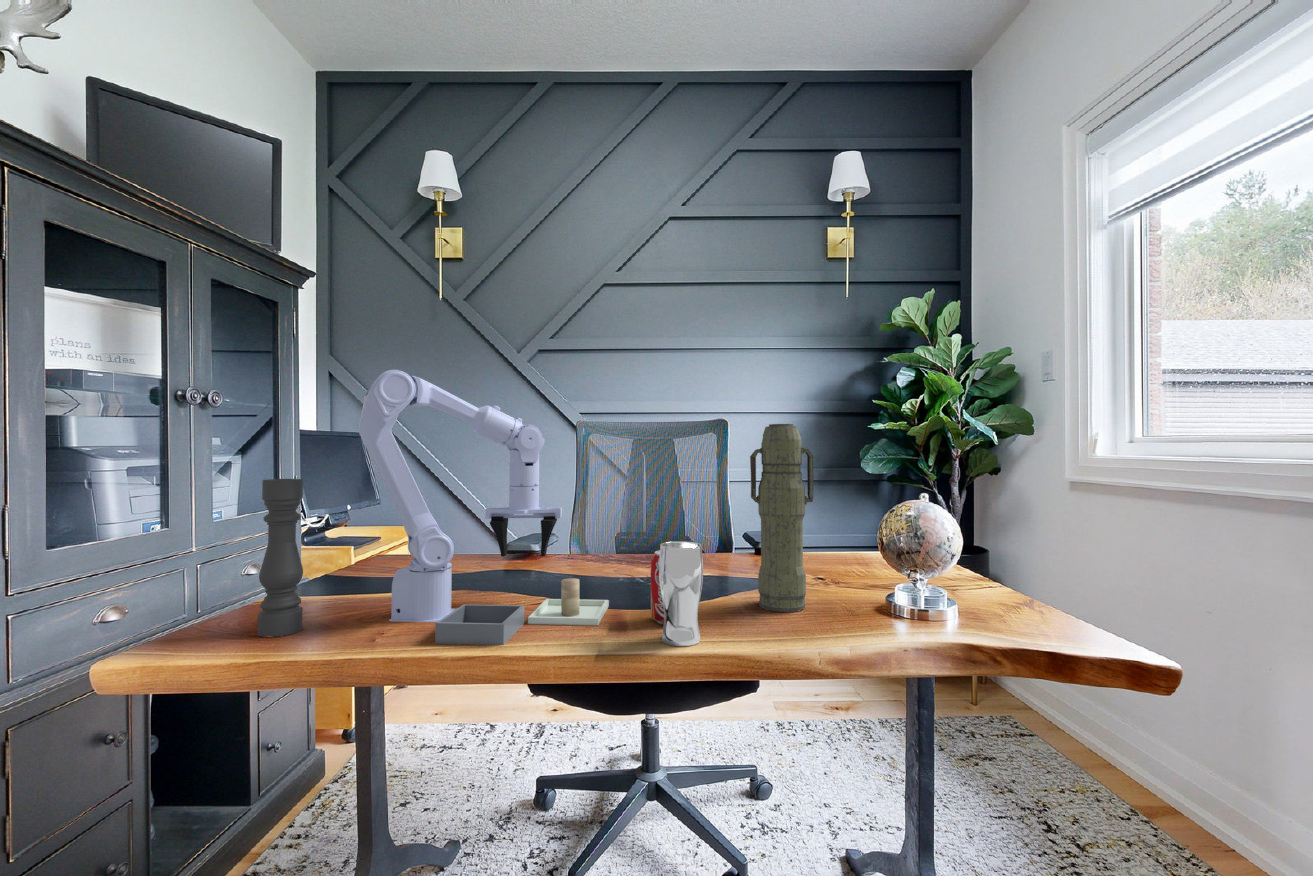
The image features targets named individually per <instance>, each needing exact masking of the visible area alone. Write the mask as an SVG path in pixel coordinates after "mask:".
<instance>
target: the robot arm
mask: <svg viewBox="0 0 1313 876" xmlns="http://www.w3.org/2000/svg"><path fill="white" fill-rule="evenodd" d="M408 405H409V407H425V406H427V407H431V408H434V409H436V410H438V411H441V412H443V413H446V414H448V415H450V416H452V417H455V418H458V419H459V420H461V421H464V422H467V423H469V424H470V427H471V429H472V431H473V433H475V434H476V435H479V436H481V437H484V438H485V439H488V440H490V441H493V442H495V443H497V444H499V445H500V446H501V445H502V446H503V447H505V446H506V448H507V449H508V451H509V467H508V468H509V471H508V472H509V475H508V476H509V477H508V478H509V480H508V481H509V487H508V491H509V493H508V495H509V499H508V500H509V502H508V504H509V505H508V507H505V506H504V507H487V508H485V519H486V520H489V519H490V521H489V524H490V527H491V529H492V532H493V533H494V534H495V537H496V540H497V543H498V546H499V552H500V556H501V557H506V556H508V526H509V519H541V520H540V531H541V533H540V534H541V544H540V557H546V555H547V552H548V545H549V542H550V538H551V535H552V534H553V533H552V532H553V530H554V528H555V526H556V524H557V521H558V519H560V520H561V519H562V518H563V507H548V506H547V507H543V506H542V507H541V506H540V452H541V450H542V448H543V447H544V445H545V440H546V439H545V438H543V434H542V431H540V429H539V427H538V426H536V425H534V424H531V423H530V424H529V423H526V424H523V418H520V417H516V418H515V417H512V416H511V415H508V414H506V413H504V412H503V411H501V407H500V406H498V405H492V406H491V405H488V404H487V405H483V406H481V407H477V406H475V405H473V404H472V403H469V402H468V401H466V400H464V399H462V398H460V397H458V396H456V395H454V394H452V393H451V392H448V391H447V390H445V389H443V388H441V387H439V386H437V385H435V384H433V383H431V382H429V381H427V380H425V379H423V378H421V377H418V376H415V375H412V376H410V374H408V373H407V372H405V371H402V370H399V369H389V370H386V371H384V372H382V373H381V374H379V376H378V377H377V378H376V379H374V381H373V382H372V383H371V385H370V387H369V388H368V389H367V390H366V392H365V394H364V397H363V404H362V409H361V414H360V418H359V422H358V429H357V430H358V434H359V435H360V438H361V440H362V442H363V444H364V446H365V448H366V450H367V452H368V454H369V457H370V458H371V461H372V462H373V465H374V467H375V469H376V471H377V472H378V475H379V477H380V480H381V481H382V482H383V485H384V487H385V490H386V491H387V493H388V495H389V497H390V499H391V501H392V504H393V505H394V507H395V510H396V512H397V514H398V516H399V518H400V520H401V522H402V526H403V528H404V531H405V533H406V535H407V539H408V541H407V549H408V553H409V554H410V555H411V557H412V558H413V559H412V560H411V562H409V564H408V566H407V567H400V568H399V569H398V570H396V572H395V573H394V575H393V579H392V581H391V582H392V583H391V611H390V612H391V614H390V615H391V616H390V617H391V618H390V619H389V620H388V621H389V622H397V623H398V622H401V623H402V622H403V623H405V622H407V623H408V622H409V623H436V622H438V621H439V620H441V619H442V618H444V617H445V616H447V615H448V614H450V613H451V612H453V611H454V610H456V609H457V608H452V582H453V581H452V567H453V566H452V565H453V564H452V562H451V560H452V559H453V556H454V552H455V546H454V545H455V544H454V542H453V540H452V539H451V538H450V537H449V536H448V535H447V534H445V533H444V532H443V531H442V530H441V528H440V527H439V525H438V522H437V521H436V520H435V518H434V517H433V514H432V513H431V512H430V509H429V507H428V506H427V503H426V501H425V500H424V497H423V495H422V493H421V491H420V489H419V487H418V485H417V482H416V480H415V478H414V476H413V474H412V472H411V470H410V468H409V466H408V464H407V460H406V459H405V457H404V454H403V453H402V451H401V449H400V447H399V445H398V442H397V441H396V438H395V436H394V435H393V431H392V429H393V427H394V426H395V423H396V421H397V420H398V417H399V414H400V413H401V412H402V411H403V410H404V409H405V408H406V407H407V406H408Z"/></svg>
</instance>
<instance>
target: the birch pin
mask: <svg viewBox="0 0 1313 876" xmlns="http://www.w3.org/2000/svg"><path fill="white" fill-rule="evenodd" d="M560 584H561V591H560V592H561V593H560V594H561V597H560V599H561V615H562V616H567V617H571V616H577V615H579V599H580V579H579V578H576V577H575V578H573V577H569V578H563V579H561V581H560Z"/></svg>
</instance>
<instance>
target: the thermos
mask: <svg viewBox="0 0 1313 876" xmlns="http://www.w3.org/2000/svg"><path fill="white" fill-rule="evenodd" d="M760 444H761V445H760V448H758V449H755V450H754V451H753V452H752V453H751V455H750V456H749V459H750V460H749V462H750V464H749V465H750V498H751V499H752V500H753V501H754V502H755V503H756V504H758V505H757V506H758V508H757V509H758V510H757V511H758V515H759V518H760V567H759V570H758V576H757V577H758V578H757V580H758V583H757V585H758V586H757V587H758V594H759V601H758V602H759V607H760V608H762V609H764V610H766V609H767V610H766V611H771V612H777V613H796V612H795V611H798V612H800V611H799V610H802V609H804V608H805V609H806V602H805V601H806V599H805V596H806V595H807V589H806V588H807V577H806V572H805V570H804V559H803V558H804V554H803V553H804V551H803V550H804V542H803V541H804V536H803V535H804V534H803V533H804V527H803V526H804V525H803V524H804V523H803V522H804V521H803V520H804V517H805V515H806V505H808V504H807V503H813V501H814V454H813V453H812V452H811V451H810V449H809V448H805V447H802V437H801V435H800V431H799V428H798V426H796V425H795V426H794V424H793V423H772V424H768V426H765V428H764V431H763V433H762V439H761V443H760ZM758 454H761V459H760V460H761V465H762V471H761V478H760V481H759V484H758V491H757V467H756V466H757V456H758ZM803 454H804V455H805V454H806V456H807V467H806V468H807V496H806V487H805V484H804V481H803V476H802V472H801V469H802V468H801V467H802V466H801V465H802V463H803V462H802V457H803V456H802V455H803ZM757 492H758V495H757ZM805 609H804V610H805ZM802 611H803V610H802Z"/></svg>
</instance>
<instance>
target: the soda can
mask: <svg viewBox="0 0 1313 876" xmlns="http://www.w3.org/2000/svg"><path fill="white" fill-rule="evenodd" d="M659 558H660V549H659V550H656V551H654V556H653V558H652V560H651V562H650V613H651V618H652V619H653V620H654V621H656V622H657V623H658V624H659V625H663V626H664V608H663V602H662V596H661V590H660V582H659Z"/></svg>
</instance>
